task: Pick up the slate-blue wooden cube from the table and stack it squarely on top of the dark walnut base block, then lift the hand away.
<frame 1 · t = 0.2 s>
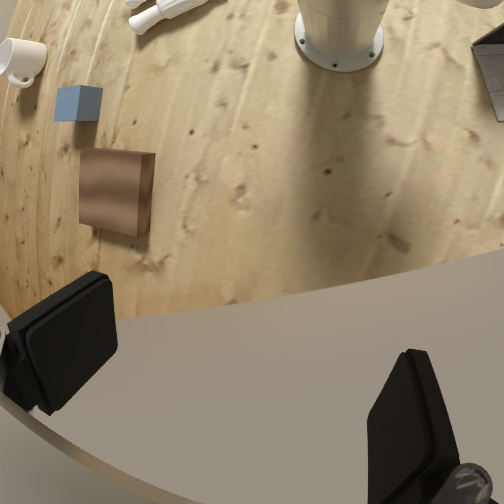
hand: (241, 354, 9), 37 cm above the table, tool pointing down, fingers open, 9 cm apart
slate cube: (89, 105, 46), on the table
mug: (38, 67, 46), on the table
walnut base: (120, 187, 49), on the table
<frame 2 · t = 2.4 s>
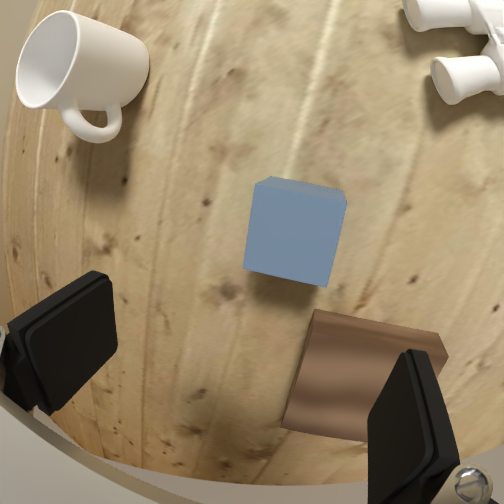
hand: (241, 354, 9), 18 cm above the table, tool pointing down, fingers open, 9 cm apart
binoculars: (487, 46, 17), on the table
slate cube: (300, 217, 26), on the table
mug: (123, 88, 26), on the table
walnut base: (359, 373, 29), on the table
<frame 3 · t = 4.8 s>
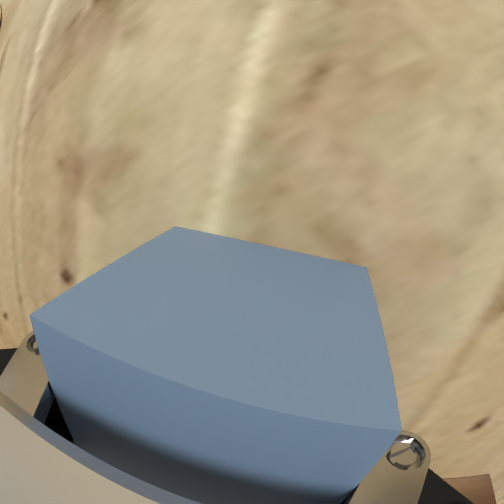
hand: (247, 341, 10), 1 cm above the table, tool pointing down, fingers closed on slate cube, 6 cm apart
slate cube: (253, 329, 10), on the table, touching gripper
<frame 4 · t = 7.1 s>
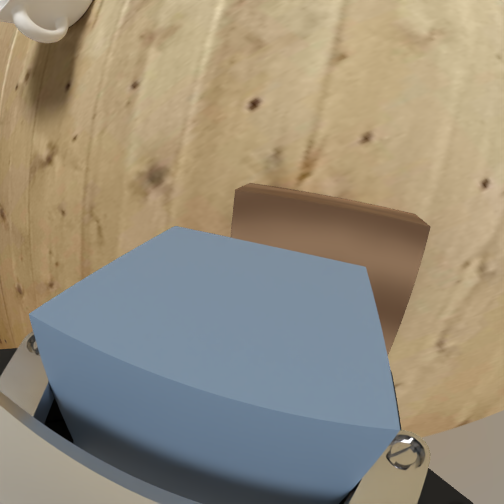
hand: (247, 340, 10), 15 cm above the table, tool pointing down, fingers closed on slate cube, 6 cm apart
slate cube: (252, 328, 10), point 15 cm above the table, touching gripper
mug: (74, 12, 22), on the table
walnut base: (319, 276, 25), on the table
when the fingers open (6 cm above the table, at t = 9.7 s): slate cube drops 1 cm, resting on walnut base.
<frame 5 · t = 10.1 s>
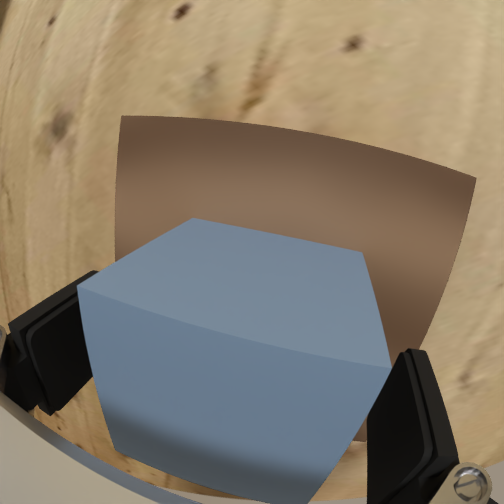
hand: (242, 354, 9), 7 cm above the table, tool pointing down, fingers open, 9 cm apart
slate cube: (262, 310, 12), point 4 cm above the table, touching walnut base
walnut base: (278, 270, 15), on the table
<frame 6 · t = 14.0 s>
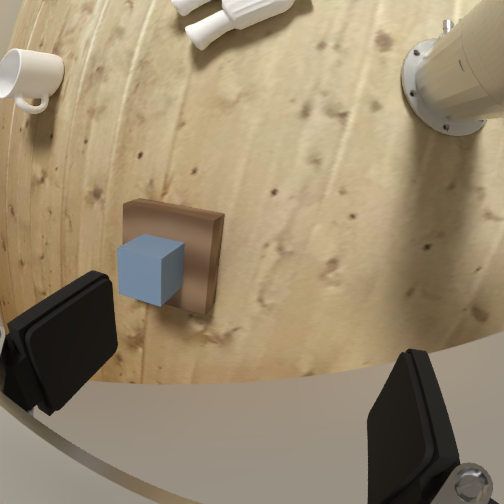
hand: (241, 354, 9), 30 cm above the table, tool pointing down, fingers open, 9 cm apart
binoculars: (245, 1, 31), on the table
slate cube: (162, 259, 40), point 4 cm above the table, touching walnut base
mug: (52, 85, 40), on the table
walnut base: (176, 250, 43), on the table
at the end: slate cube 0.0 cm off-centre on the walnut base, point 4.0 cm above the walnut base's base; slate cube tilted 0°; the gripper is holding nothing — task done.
